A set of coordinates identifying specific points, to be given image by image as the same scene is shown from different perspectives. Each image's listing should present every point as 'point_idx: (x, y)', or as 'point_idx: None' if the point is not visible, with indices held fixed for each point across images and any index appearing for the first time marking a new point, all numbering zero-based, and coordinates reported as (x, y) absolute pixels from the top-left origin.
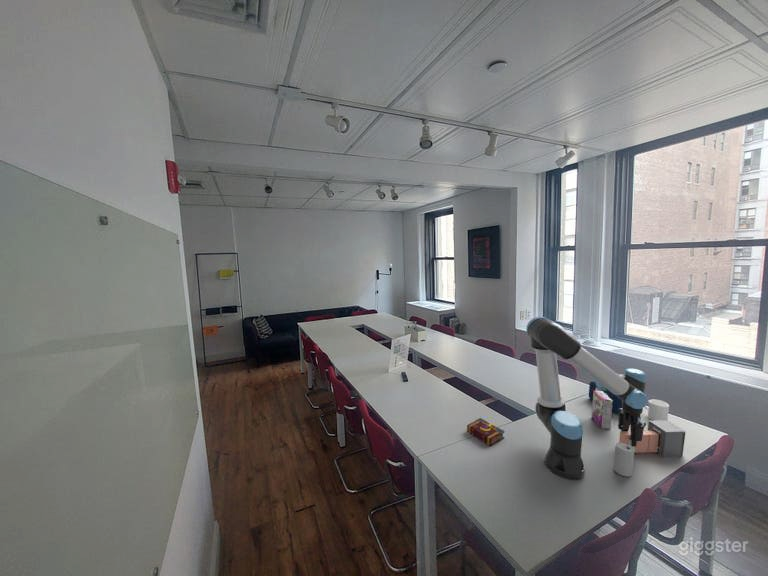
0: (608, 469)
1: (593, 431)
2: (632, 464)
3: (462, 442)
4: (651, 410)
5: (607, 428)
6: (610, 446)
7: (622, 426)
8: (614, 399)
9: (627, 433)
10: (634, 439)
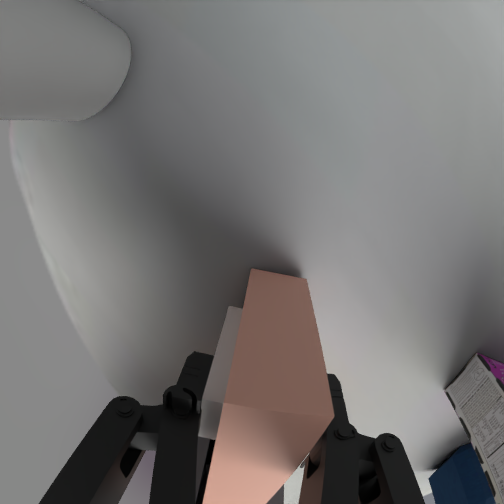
0: (137, 6)
1: (491, 285)
2: None
3: None
4: None
5: (455, 380)
6: (355, 247)
7: (353, 490)
8: (479, 493)
9: (257, 447)
10: (138, 410)
